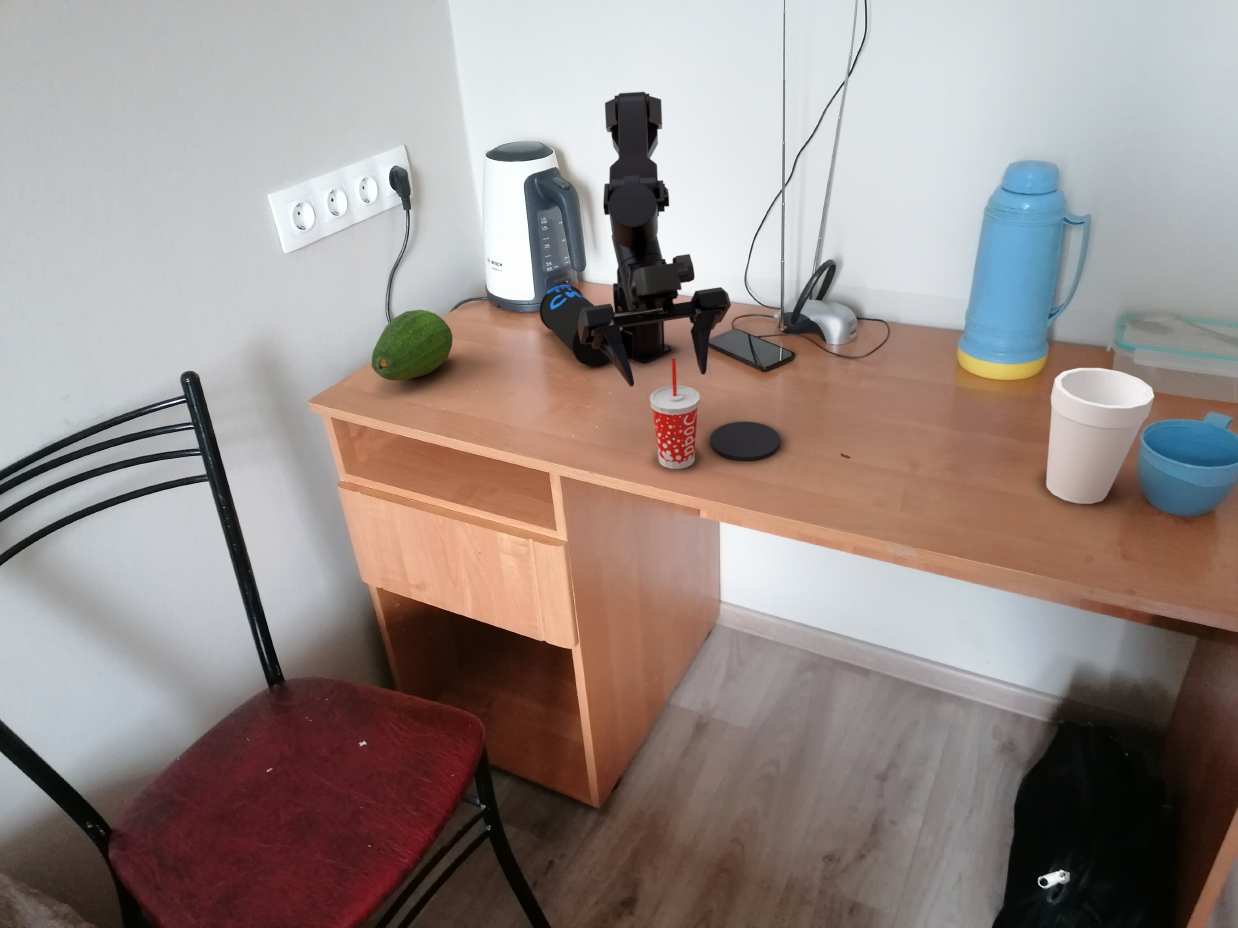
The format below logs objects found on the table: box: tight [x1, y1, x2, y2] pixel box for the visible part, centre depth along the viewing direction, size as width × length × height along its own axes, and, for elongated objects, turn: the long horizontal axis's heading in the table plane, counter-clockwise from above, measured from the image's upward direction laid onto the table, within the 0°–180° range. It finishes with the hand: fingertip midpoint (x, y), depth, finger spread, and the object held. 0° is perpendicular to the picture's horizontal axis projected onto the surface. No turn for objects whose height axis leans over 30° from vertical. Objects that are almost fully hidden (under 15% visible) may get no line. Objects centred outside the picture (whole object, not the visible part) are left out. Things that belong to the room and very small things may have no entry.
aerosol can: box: [539, 284, 622, 368], centre depth 138 cm, size 8×8×20 cm
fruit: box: [371, 309, 453, 381], centre depth 131 cm, size 15×10×10 cm, turn 150°
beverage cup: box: [649, 358, 701, 470], centre depth 104 cm, size 6×6×14 cm
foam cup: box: [1045, 367, 1155, 505], centre depth 94 cm, size 10×9×13 cm
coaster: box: [709, 421, 781, 462], centre depth 110 cm, size 9×9×1 cm
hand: (668, 379), depth 105 cm, fingers open, 9 cm apart
